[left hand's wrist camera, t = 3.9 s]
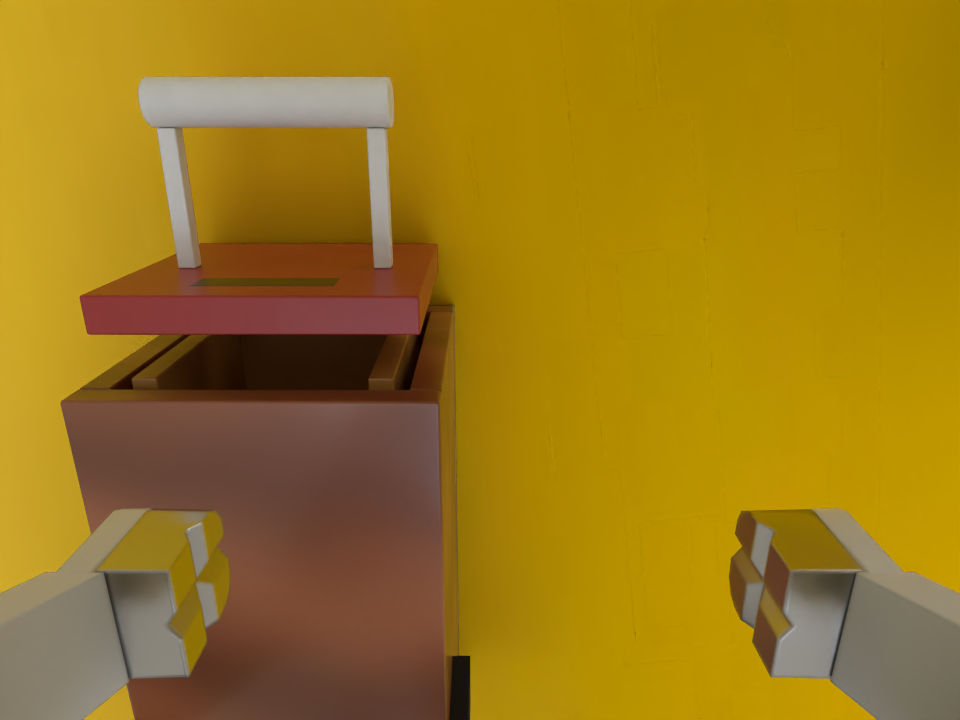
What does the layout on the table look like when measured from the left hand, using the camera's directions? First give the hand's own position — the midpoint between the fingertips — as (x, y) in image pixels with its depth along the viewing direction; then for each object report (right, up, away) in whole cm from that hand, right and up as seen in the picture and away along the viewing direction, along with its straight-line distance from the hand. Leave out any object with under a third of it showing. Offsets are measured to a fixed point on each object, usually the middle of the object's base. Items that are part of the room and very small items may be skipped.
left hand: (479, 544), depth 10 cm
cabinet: (-7, -4, +22) cm, 24 cm away
